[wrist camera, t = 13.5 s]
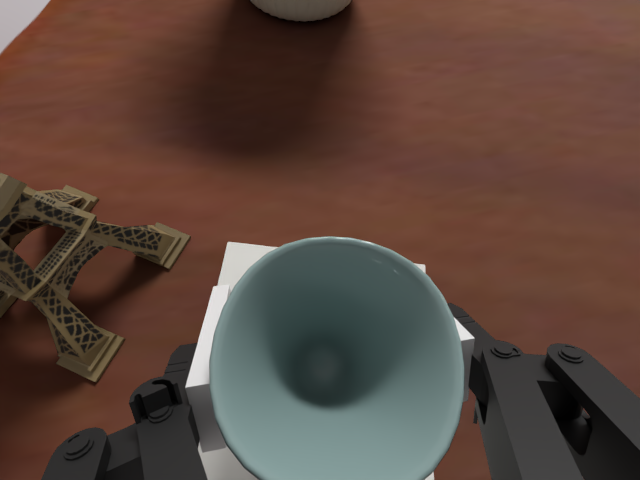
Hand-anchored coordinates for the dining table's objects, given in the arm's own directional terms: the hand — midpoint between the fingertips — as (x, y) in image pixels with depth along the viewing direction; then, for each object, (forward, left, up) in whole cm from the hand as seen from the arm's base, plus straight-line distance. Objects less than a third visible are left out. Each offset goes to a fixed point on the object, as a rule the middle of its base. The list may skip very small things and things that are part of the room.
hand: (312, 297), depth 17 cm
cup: (+3, +1, -4) cm, 5 cm away
